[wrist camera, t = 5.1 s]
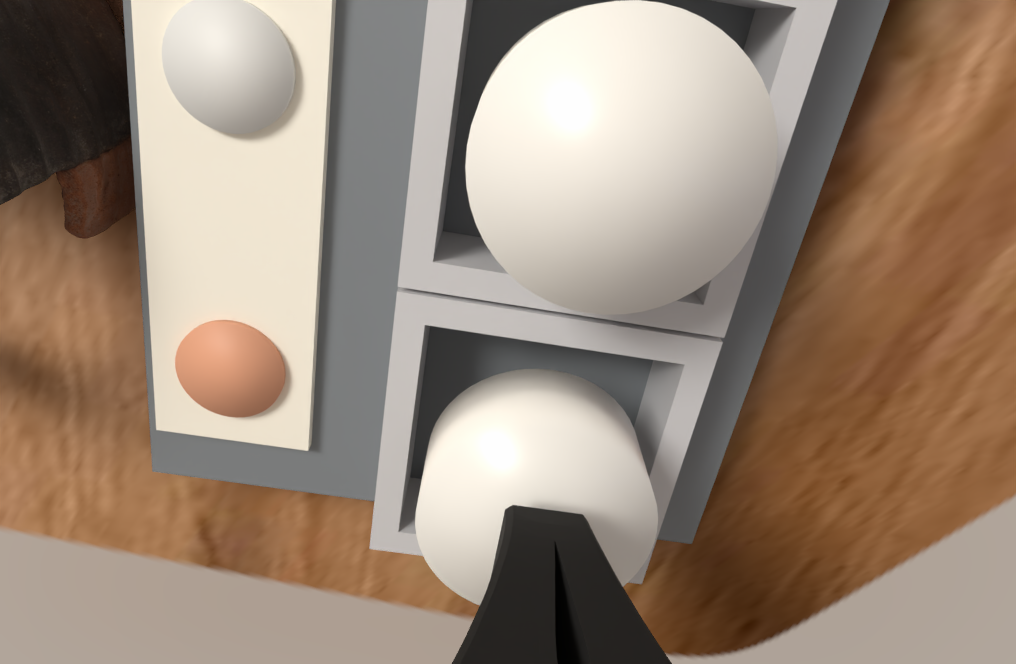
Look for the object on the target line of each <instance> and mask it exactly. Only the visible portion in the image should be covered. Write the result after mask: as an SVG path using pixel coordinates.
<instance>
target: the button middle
mask: <svg viewBox="0 0 1016 664" xmlns="http://www.w3.org/2000/svg"><path fill="white" fill-rule="evenodd" d="M777 148H778V137H777V129H776V121H775V115H774V111H773V108H772V104H771V100H770V97H769V94H768V92H767V89H766V87H765V85H764V83H763V80H762V78H761V76H760V74H759V73H758V71H757V70H756V68H755V66H754V65H753V63H752V61H751V60H750V58H749V57H748V56H747V55H746V54H745V52H744V51H743V50H742V49H741V48H740V47H739V45H738V44H737V43H736V42H735V41H734V40H733V39H731V38H730V37H729V36H728V35H727V34H726V33H724V32H723V31H722V30H721V29H720V28H718V27H717V26H715V25H714V24H712V23H710V22H709V21H707V20H706V19H704V18H702V17H700V16H698V15H696V14H694V13H691V12H689V11H687V10H685V9H682V8H679V7H675V6H671V5H668V4H664V3H659V2H650V1H642V0H628V1H612V2H604V3H597V4H592V5H586V6H581V7H577V8H574V9H571V10H568V11H565V12H562V13H560V14H557V15H555V16H553V17H551V18H549V19H547V20H545V21H543V22H542V23H540V24H539V25H538V26H536V27H535V28H533V29H532V30H530V31H529V32H527V33H526V34H525V35H524V36H523V37H522V38H521V39H519V40H518V41H517V42H516V43H515V44H514V45H513V46H512V47H511V48H510V50H509V51H508V52H507V53H506V54H505V55H504V56H503V58H502V59H501V60H500V62H499V63H498V65H497V66H496V68H495V69H494V71H493V72H492V74H491V76H490V78H489V80H488V82H487V84H486V86H485V88H484V90H483V93H482V96H481V98H480V101H479V104H478V107H477V110H476V113H475V116H474V119H473V121H472V124H471V128H470V133H469V138H468V143H467V151H466V164H465V171H466V188H467V193H468V198H469V204H470V208H471V211H472V214H473V217H474V220H475V223H476V226H477V228H478V230H479V232H480V234H481V236H482V238H483V240H484V243H485V244H486V246H487V247H488V249H489V250H490V252H491V253H492V255H493V256H494V258H495V259H496V260H497V261H498V262H499V264H500V265H501V266H502V267H503V268H504V269H505V271H506V272H507V273H508V274H509V275H511V276H512V277H513V278H514V279H515V280H516V281H517V282H518V283H520V284H521V285H522V286H524V287H525V288H527V289H528V290H530V291H531V292H532V293H534V294H535V295H537V296H539V297H541V298H543V299H545V300H547V301H549V302H551V303H553V304H556V305H559V306H562V307H565V308H567V309H571V310H575V311H580V312H585V313H592V314H602V315H618V314H630V313H637V312H643V311H647V310H651V309H654V308H658V307H661V306H664V305H667V304H669V303H672V302H674V301H677V300H679V299H681V298H683V297H685V296H686V295H688V294H690V293H692V292H694V291H696V290H697V289H699V288H700V287H702V286H703V285H704V284H706V283H707V282H709V281H710V280H712V279H713V278H714V277H715V276H716V275H717V274H719V273H720V272H721V271H722V270H723V269H724V268H725V267H727V265H728V264H729V263H730V262H731V261H732V260H733V259H734V258H735V257H736V256H737V254H738V253H739V252H740V251H741V250H742V248H743V247H744V245H745V244H746V243H747V241H748V240H749V238H750V237H751V236H752V234H753V232H754V230H755V228H756V227H757V225H758V223H759V221H760V219H761V218H762V215H763V213H764V210H765V208H766V205H767V203H768V200H769V198H770V194H771V190H772V186H773V183H774V179H775V172H776V165H777Z"/></svg>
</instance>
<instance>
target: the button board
mask: <svg viewBox="0 0 1016 664" xmlns="http://www.w3.org/2000/svg"><path fill="white" fill-rule="evenodd" d="M612 1H628V0H123V13H124V28H125V44H126V60H127V76H128V91H129V107H130V123H131V139H132V154H133V170H134V186H135V202H136V217H137V233H138V249H139V265H140V280H141V296H142V312H143V328H144V344H145V359H146V375H147V391H148V407H149V422H150V438H151V454H152V470H153V472H161V473H168V474H176V475H183V476H190V477H198V478H205V479H213V480H220V481H228V482H235V483H242V484H250V485H257V486H265V487H272V488H280V489H287V490H294V491H302V492H309V493H317V494H324V495H332V496H339V497H346V498H354V499H361V500H369V501H375V502H374V511H373V521H372V530H371V539H370V549H375V550H382V551H390V552H398V553H405V554H413V555H421V556H423V554H422V552H421V550H420V547H419V544H418V540H417V536H416V528H415V516H416V508H417V502H418V497H419V492H420V486H421V481H422V476H423V471H424V465H425V460H426V455H427V450H428V445H429V440H430V436H431V433H432V431H433V428H434V426H435V424H436V422H437V420H438V418H439V417H440V415H441V413H442V412H443V411H444V410H445V408H446V407H447V406H448V405H449V404H450V403H451V402H452V401H453V400H454V399H455V398H456V397H457V396H458V395H459V394H460V393H462V392H463V391H465V390H466V389H467V388H469V387H470V386H472V385H474V384H476V383H478V382H479V381H481V380H484V379H486V378H489V377H491V376H494V375H497V374H500V373H504V372H508V371H514V370H521V369H548V370H556V371H560V372H565V373H569V374H572V375H575V376H578V377H581V378H583V379H585V380H587V381H589V382H591V383H593V384H595V385H596V386H598V387H600V388H601V389H603V390H604V391H605V392H607V393H608V394H609V395H610V396H611V397H612V398H614V399H615V400H616V401H617V403H618V404H619V405H620V406H621V407H622V408H623V410H624V411H625V413H626V414H627V416H628V417H629V419H630V421H631V423H632V425H633V428H634V430H635V433H636V436H637V440H638V443H639V446H640V450H641V453H642V456H643V459H644V463H645V466H646V469H647V473H648V476H649V479H650V483H651V486H652V489H653V493H654V496H655V500H656V504H657V512H658V526H657V534H656V538H655V542H654V545H653V547H652V549H651V552H650V554H649V556H648V558H647V559H646V561H645V563H644V564H643V566H642V567H641V568H640V570H639V571H638V572H637V573H636V575H635V576H634V577H633V578H632V579H631V580H630V581H629V583H636V584H642V582H643V579H644V576H645V573H646V570H647V567H648V564H649V561H650V558H651V555H652V552H653V549H654V546H655V543H656V540H657V539H658V540H666V541H673V542H681V543H688V544H692V542H693V539H694V536H695V534H696V531H697V528H698V525H699V523H700V520H701V517H702V514H703V512H704V509H705V506H706V503H707V501H708V498H709V495H710V493H711V490H712V487H713V484H714V482H715V479H716V476H717V473H718V471H719V468H720V465H721V462H722V460H723V457H724V454H725V451H726V449H727V446H728V443H729V440H730V438H731V435H732V432H733V429H734V427H735V424H736V421H737V418H738V416H739V413H740V410H741V407H742V405H743V402H744V399H745V396H746V394H747V391H748V388H749V385H750V383H751V380H752V377H753V374H754V372H755V369H756V366H757V363H758V361H759V358H760V355H761V353H762V350H763V347H764V344H765V342H766V339H767V336H768V333H769V331H770V328H771V325H772V322H773V320H774V317H775V314H776V311H777V309H778V306H779V303H780V300H781V298H782V295H783V292H784V289H785V287H786V284H787V281H788V278H789V276H790V273H791V270H792V267H793V265H794V262H795V259H796V256H797V254H798V251H799V248H800V245H801V243H802V240H803V237H804V234H805V232H806V229H807V226H808V223H809V221H810V218H811V215H812V212H813V210H814V207H815V204H816V202H817V199H818V196H819V193H820V191H821V188H822V185H823V182H824V180H825V177H826V174H827V171H828V169H829V166H830V163H831V160H832V158H833V155H834V152H835V149H836V147H837V144H838V141H839V138H840V136H841V133H842V130H843V127H844V125H845V122H846V119H847V116H848V114H849V111H850V108H851V105H852V103H853V100H854V97H855V94H856V92H857V89H858V86H859V83H860V81H861V78H862V75H863V72H864V70H865V67H866V64H867V62H868V59H869V56H870V53H871V51H872V48H873V45H874V42H875V40H876V37H877V34H878V31H879V29H880V26H881V23H882V20H883V18H884V15H885V12H886V9H887V7H888V4H889V1H890V0H642V1H650V2H659V3H664V4H668V5H671V6H675V7H679V8H682V9H685V10H687V11H689V12H691V13H694V14H696V15H698V16H700V17H702V18H704V19H706V20H707V21H709V22H710V23H712V24H714V25H715V26H717V27H718V28H720V29H721V30H722V31H723V32H724V33H726V34H727V35H728V36H729V37H730V38H731V39H733V40H734V41H735V42H736V43H737V44H738V45H739V47H740V48H741V49H742V50H743V51H744V52H745V54H746V55H747V56H748V57H749V58H750V60H751V61H752V63H753V65H754V66H755V68H756V70H757V71H758V73H759V74H760V76H761V78H762V80H763V83H764V85H765V87H766V89H767V92H768V94H769V97H770V100H771V104H772V108H773V111H774V115H775V121H776V129H777V137H778V148H777V165H776V172H775V179H774V183H773V186H772V190H771V194H770V198H769V200H768V203H767V205H766V208H765V210H764V213H763V215H762V218H761V219H760V221H759V223H758V225H757V227H756V228H755V230H754V232H753V234H752V236H751V237H750V238H749V240H748V241H747V243H746V244H745V245H744V247H743V248H742V250H741V251H740V252H739V253H738V254H737V256H736V257H735V258H734V259H733V260H732V261H731V262H730V263H729V264H728V265H727V267H725V268H724V269H723V270H722V271H721V272H720V273H719V274H717V275H716V276H715V277H714V278H713V279H712V280H710V281H709V282H707V283H706V284H704V285H703V286H702V287H700V288H699V289H697V290H696V291H694V292H692V293H690V294H688V295H686V296H685V297H683V298H681V299H679V300H677V301H674V302H672V303H669V304H667V305H664V306H661V307H658V308H654V309H651V310H647V311H643V312H637V313H630V314H618V315H602V314H592V313H585V312H580V311H575V310H571V309H567V308H565V307H562V306H559V305H556V304H553V303H551V302H549V301H547V300H545V299H543V298H541V297H539V296H537V295H535V294H534V293H532V292H531V291H530V290H528V289H527V288H525V287H524V286H522V285H521V284H520V283H518V282H517V281H516V280H515V279H514V278H513V277H512V276H511V275H509V274H508V273H507V272H506V271H505V269H504V268H503V267H502V266H501V265H500V264H499V262H498V261H497V260H496V259H495V258H494V256H493V255H492V253H491V252H490V250H489V249H488V247H487V246H486V244H485V243H484V240H483V238H482V236H481V234H480V232H479V230H478V228H477V226H476V223H475V220H474V217H473V214H472V211H471V208H470V204H469V198H468V193H467V188H466V171H465V164H466V151H467V143H468V138H469V133H470V128H471V124H472V121H473V119H474V116H475V113H476V110H477V107H478V104H479V101H480V98H481V96H482V93H483V90H484V88H485V86H486V84H487V82H488V80H489V78H490V76H491V74H492V72H493V71H494V69H495V68H496V66H497V65H498V63H499V62H500V60H501V59H502V58H503V56H504V55H505V54H506V53H507V52H508V51H509V50H510V48H511V47H512V46H513V45H514V44H515V43H516V42H517V41H518V40H519V39H521V38H522V37H523V36H524V35H525V34H526V33H527V32H529V31H530V30H532V29H533V28H535V27H536V26H538V25H539V24H540V23H542V22H543V21H545V20H547V19H549V18H551V17H553V16H555V15H557V14H560V13H562V12H565V11H568V10H571V9H574V8H577V7H581V6H586V5H592V4H597V3H604V2H612Z"/></svg>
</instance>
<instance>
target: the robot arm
mask: <svg viewBox="0 0 1016 664" xmlns="http://www.w3.org/2000/svg"><path fill="white" fill-rule="evenodd" d="M452 664H672V663H671V662H670V660H669V659H668V657H667V656H666V654H665V653H664V651H663V650H662V649H661V647H660V646H659V644H658V643H657V641H656V640H655V638H654V637H653V635H652V634H651V632H650V631H649V629H648V627H647V626H646V624H645V623H644V621H643V620H642V618H641V616H640V615H639V613H638V611H637V610H636V608H635V606H634V605H633V603H632V601H631V600H630V598H629V597H628V595H627V593H626V592H625V590H624V588H623V586H622V585H621V583H620V581H619V580H618V578H617V576H616V574H615V572H614V571H613V569H612V567H611V565H610V563H609V561H608V560H607V558H606V556H605V554H604V552H603V550H602V548H601V546H600V545H599V543H598V541H597V539H596V537H595V535H594V533H593V531H592V529H591V527H590V525H589V523H588V521H587V519H586V518H585V517H584V515H583V514H577V513H570V512H562V511H555V510H547V509H540V508H533V507H525V506H518V505H512V506H510V507H508V508H506V509H505V512H504V517H503V522H502V527H501V531H500V536H499V541H498V546H497V551H496V555H495V560H494V565H493V570H492V574H491V579H490V582H489V584H488V587H487V590H486V593H485V595H484V598H483V600H482V602H481V604H480V607H479V609H478V611H477V613H476V615H475V618H474V620H473V622H472V624H471V626H470V629H469V631H468V633H467V635H466V637H465V639H464V641H463V643H462V645H461V647H460V649H459V651H458V653H457V655H456V657H455V659H454V661H453V662H452Z"/></svg>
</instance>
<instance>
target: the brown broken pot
mask: <svg viewBox="0 0 1016 664" xmlns="http://www.w3.org/2000/svg"><path fill="white" fill-rule="evenodd" d="M55 172H56V175H57V179H58V181H59V183H60V185H61V186H62V197H63V199H64V210H65V229H66V230H67V231H68V232H69V233H71V234H73V235H74V236H76V237H79V238H89V237H92V236H95V235H97V234H99V233H101V232H103V231H105V230H106V229H108V228H109V227H110V226H111V225H112V224H114V223H115V222H116V221H118V220H119V219H121V218H123V217H124V216H126V215H127V214H129V213H130V212H131V211H132V210H133V209H135V208H136V202H135V186H134V170H133V154H132V139H131V123H130V107H129V91H128V76H127V60H126V44H125V38H124V35H123V31H122V28H121V26H120V24H119V22H118V21H117V19H116V18H115V16H114V14H113V12H112V10H111V8H110V6H109V4H108V3H107V1H106V0H0V205H1V204H3V203H5V202H7V201H9V200H11V199H13V198H14V197H16V196H18V195H20V194H21V193H22V192H23V191H24V190H26V189H28V188H30V187H32V186H35V185H37V184H40V183H42V182H43V181H45V180H47V179H48V178H49V177H50V176H51V175H52V174H53V173H55Z"/></svg>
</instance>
